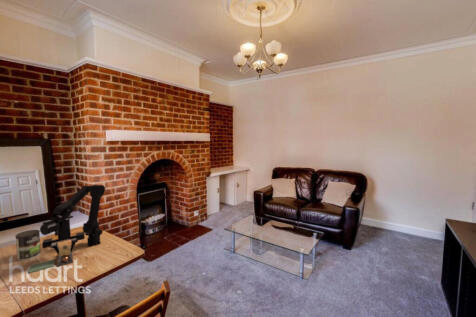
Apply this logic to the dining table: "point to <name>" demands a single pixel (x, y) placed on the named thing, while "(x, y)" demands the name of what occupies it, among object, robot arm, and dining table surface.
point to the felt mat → (41, 266)
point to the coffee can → (28, 245)
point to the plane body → (65, 259)
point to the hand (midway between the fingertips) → (65, 253)
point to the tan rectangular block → (64, 250)
